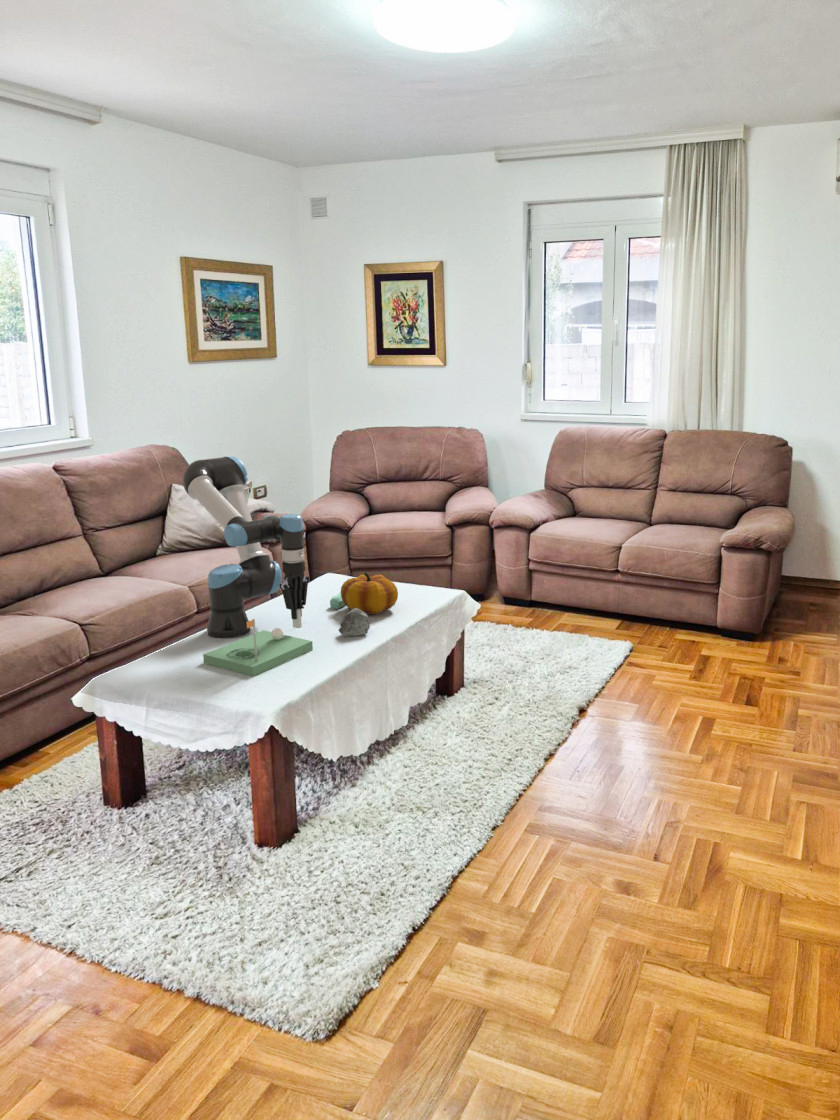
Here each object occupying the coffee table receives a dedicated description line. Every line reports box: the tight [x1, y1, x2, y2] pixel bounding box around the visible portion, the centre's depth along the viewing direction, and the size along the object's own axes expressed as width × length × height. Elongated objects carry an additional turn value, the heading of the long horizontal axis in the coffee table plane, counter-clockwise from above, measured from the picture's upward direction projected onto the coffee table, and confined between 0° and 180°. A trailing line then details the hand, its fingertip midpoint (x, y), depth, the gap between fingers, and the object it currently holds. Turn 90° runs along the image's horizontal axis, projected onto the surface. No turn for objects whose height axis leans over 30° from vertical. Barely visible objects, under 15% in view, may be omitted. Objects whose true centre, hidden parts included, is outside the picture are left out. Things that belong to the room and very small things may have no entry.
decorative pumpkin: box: [339, 572, 399, 615], centre depth 345 cm, size 20×22×15 cm
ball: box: [270, 627, 284, 640], centre depth 306 cm, size 4×4×4 cm
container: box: [329, 592, 346, 610], centre depth 359 cm, size 6×6×25 cm
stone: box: [338, 608, 370, 637], centre depth 320 cm, size 10×10×10 cm
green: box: [202, 618, 314, 677], centre depth 298 cm, size 28×22×17 cm
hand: (297, 627), depth 314 cm, fingers closed
